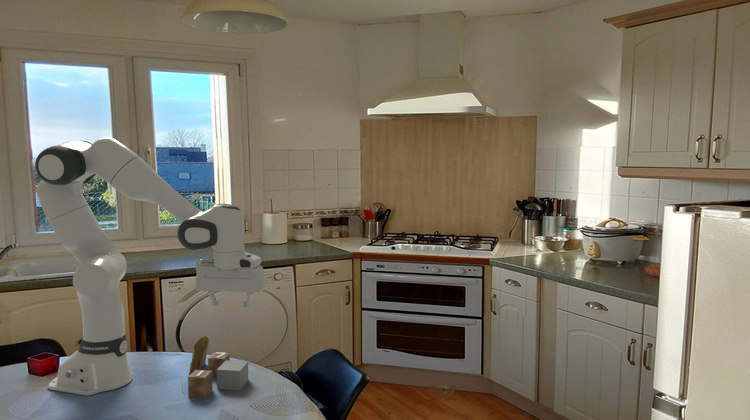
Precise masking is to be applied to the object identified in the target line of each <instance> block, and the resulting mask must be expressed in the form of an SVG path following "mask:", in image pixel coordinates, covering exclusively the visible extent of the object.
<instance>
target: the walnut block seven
mask: <svg viewBox="0 0 750 420" xmlns="http://www.w3.org/2000/svg"><path fill="white" fill-rule="evenodd" d="M225 361H231V355H230V352H218V351H214V352H213V353H211V355H210V356H208V358H207V369H208V370H209V371H212V378H217V369H218V368H219V367H220V366H221V365H222V364H223V363H224V362H225Z"/></svg>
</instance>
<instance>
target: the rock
mask: <svg viewBox="0 0 750 420" xmlns="http://www.w3.org/2000/svg"><path fill="white" fill-rule="evenodd" d="M209 342H210V338H209V337H207V336H205V335H204V336H203V337H200V338H199V339H198V341H196V342H195V344H194V345H193V351H192V356H191V362H190V364H189V365H190V367H189V372H188V374H189V375H190V374H192V373H193V372H194V371H195V370H202V368H203V367H204V365H206V361H207V356H208V355H207V354H208V348H209Z"/></svg>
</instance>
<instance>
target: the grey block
mask: <svg viewBox="0 0 750 420" xmlns="http://www.w3.org/2000/svg"><path fill="white" fill-rule="evenodd" d="M248 381H249V361H242V360H241V361H240V360H230V361H225V362H224V363H223V364H222V365H221V366H220V367H219V368H218V369H217V377H216V389H217V390H225V391H226V390H228V391H241V390H242V389H243V388H244V387H245V386H246V384H247V383H248Z"/></svg>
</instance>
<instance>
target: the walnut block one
mask: <svg viewBox="0 0 750 420" xmlns="http://www.w3.org/2000/svg"><path fill="white" fill-rule="evenodd" d="M187 385H188V386H187V390H188V391H187V393H188V394H187V395H188V396H187V397H188V398H195V397H196V398H198V399H206V398H207V397H208V396H209V395H210V394H211V393H212V392H213V390H214V389H213V388H214V387H213V377H212V371H209V370H206V369H200V370H195V371H194V372H193V373H192V374H189V375H188V376H187Z"/></svg>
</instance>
